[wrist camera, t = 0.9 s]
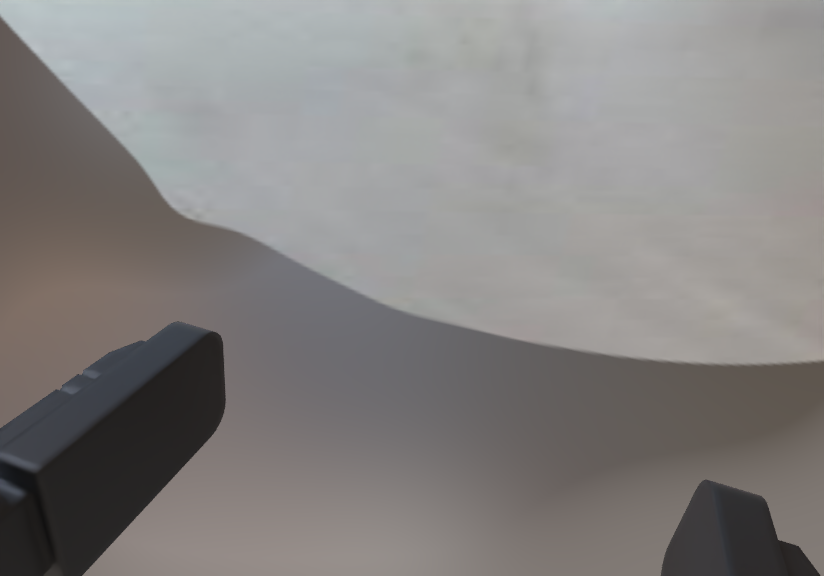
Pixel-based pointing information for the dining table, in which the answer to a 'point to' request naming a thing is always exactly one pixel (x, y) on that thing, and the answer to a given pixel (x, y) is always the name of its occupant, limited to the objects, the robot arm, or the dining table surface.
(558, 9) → the dining table surface
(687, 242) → the dining table surface
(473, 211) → the dining table surface
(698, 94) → the dining table surface
